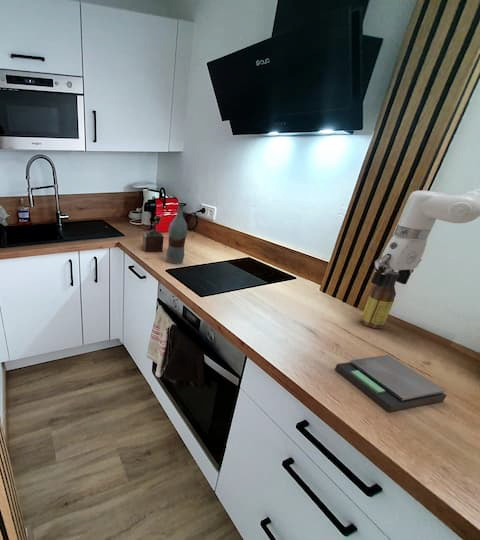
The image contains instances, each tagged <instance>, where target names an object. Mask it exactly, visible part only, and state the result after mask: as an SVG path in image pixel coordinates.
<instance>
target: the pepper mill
mask: <svg viewBox="0 0 480 540" xmlns="http://www.w3.org/2000/svg"><path fill="white" fill-rule="evenodd" d="M154 220H155V221H152V223H151V226H152V229H151V230H148V231H143V232H142V249H143V250H144V252H145V253H163V252H164V250H163V249H164V238H165V237H164V235H163V234H162V231H160V230H156V229H155V228H156V227H155V226H156V225H160V224H161V222H160V221H161V220H162V217H161V216H160V215H155V216H154Z"/></svg>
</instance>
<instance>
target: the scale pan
mask: <svg viewBox="0 0 480 540" xmlns="http://www.w3.org/2000/svg"><path fill="white" fill-rule="evenodd" d="M349 362H350V363H351V364H352V365H354V366H355V367H356V368H358V369H359V370H360V371H362V372H363V373H364V374H366V375H367V376H369V377H370V378H371V379H373V380H374V381H375V382H377V383H378V384H379V385H381V386H382V387H384V388H385V389H386V390H388V391H389V392H390V393H392V394H393V395H394V396H396V397H397V398H399V399H400V400H401V401H404V400H409V399H414V398H419V397H425V396H430V395H435V394H440V393H444V394H445V391H446V390H445V389H444V388H442V387H441V386H439V385H438V384H435V383H434V382H433V381H431V380H429V379H428V378H426V377H425V376H423V375H421V374H420V373H418V372H417V371H415V370H413V369H412V368H410V367H408V366H407V365H405V363H404V364H403V363H402V362H400V361H399V360H397V359H396V358H394V357H393V356H390V354H383V355H378V356H370V357H363V358H357V359H356V358H355V359H350V361H349Z"/></svg>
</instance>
